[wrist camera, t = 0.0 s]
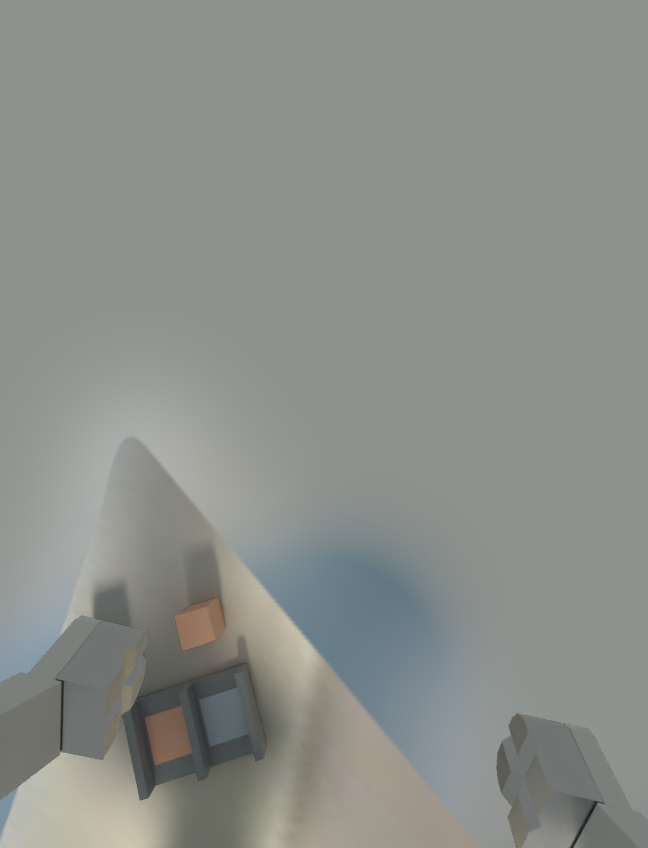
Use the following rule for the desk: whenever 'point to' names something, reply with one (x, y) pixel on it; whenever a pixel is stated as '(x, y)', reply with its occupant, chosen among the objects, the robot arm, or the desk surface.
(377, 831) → the desk surface
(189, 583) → the desk surface
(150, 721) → the slot dock
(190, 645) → the terracotta plug
